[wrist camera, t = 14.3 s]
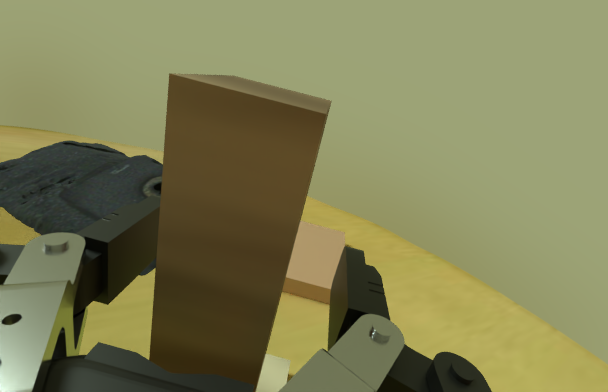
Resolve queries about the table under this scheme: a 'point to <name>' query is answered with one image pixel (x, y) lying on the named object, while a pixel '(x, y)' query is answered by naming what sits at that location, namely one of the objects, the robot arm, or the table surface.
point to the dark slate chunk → (75, 186)
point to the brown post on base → (229, 222)
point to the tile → (314, 262)
